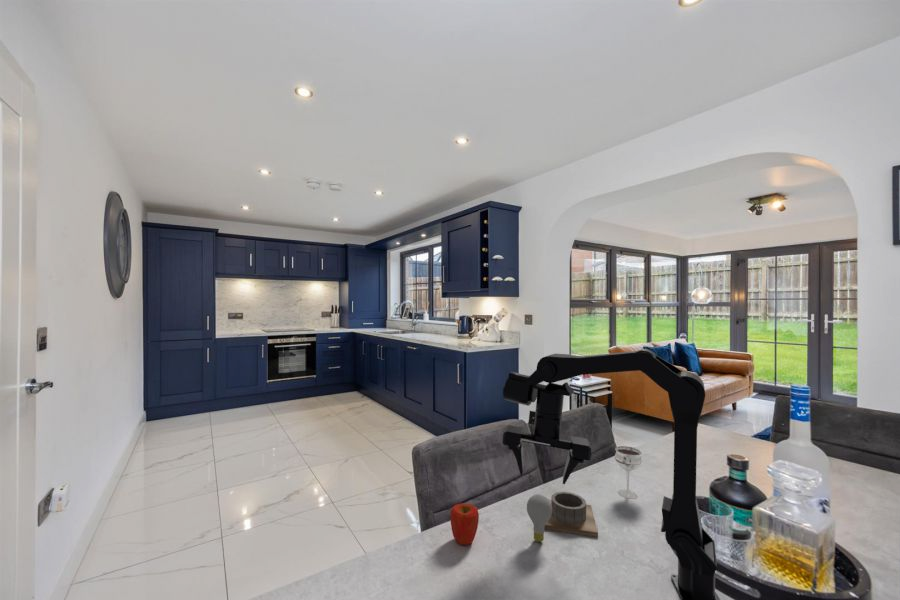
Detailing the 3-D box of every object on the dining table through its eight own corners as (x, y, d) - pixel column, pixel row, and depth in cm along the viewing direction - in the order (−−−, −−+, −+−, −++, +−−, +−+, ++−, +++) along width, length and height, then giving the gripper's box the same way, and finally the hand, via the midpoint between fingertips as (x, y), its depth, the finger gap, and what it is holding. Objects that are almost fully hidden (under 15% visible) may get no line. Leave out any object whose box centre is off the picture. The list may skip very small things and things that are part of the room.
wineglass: (634, 503, 100) (634, 457, 101) (609, 492, 106) (610, 449, 106) (645, 495, 105) (646, 451, 105) (621, 485, 110) (622, 444, 110)
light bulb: (552, 551, 80) (553, 503, 80) (526, 547, 81) (526, 500, 81) (550, 535, 86) (551, 491, 86) (526, 532, 87) (526, 488, 87)
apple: (471, 529, 87) (471, 497, 87) (483, 546, 82) (483, 511, 82) (445, 535, 85) (446, 501, 85) (456, 552, 79) (456, 516, 79)
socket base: (598, 537, 85) (598, 517, 85) (543, 528, 88) (543, 509, 88) (590, 509, 97) (591, 491, 97) (542, 502, 100) (543, 485, 100)
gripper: (589, 407, 90) (582, 471, 91) (510, 394, 95) (504, 456, 95) (594, 422, 79) (587, 495, 80) (505, 407, 84) (499, 476, 84)
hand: (542, 479), depth 85 cm, fingers open, 9 cm apart
